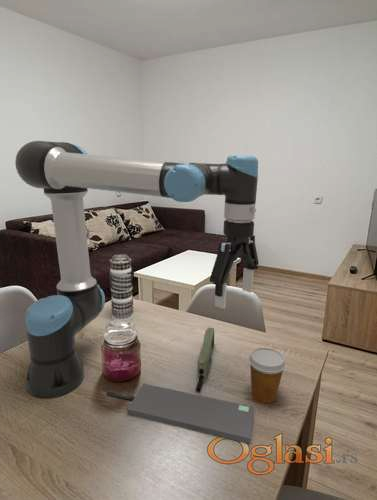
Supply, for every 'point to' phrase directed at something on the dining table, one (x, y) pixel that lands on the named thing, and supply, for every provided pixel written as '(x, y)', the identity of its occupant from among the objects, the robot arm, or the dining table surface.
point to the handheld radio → (205, 357)
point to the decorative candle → (121, 287)
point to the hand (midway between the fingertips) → (234, 298)
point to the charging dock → (192, 412)
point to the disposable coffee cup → (266, 373)
